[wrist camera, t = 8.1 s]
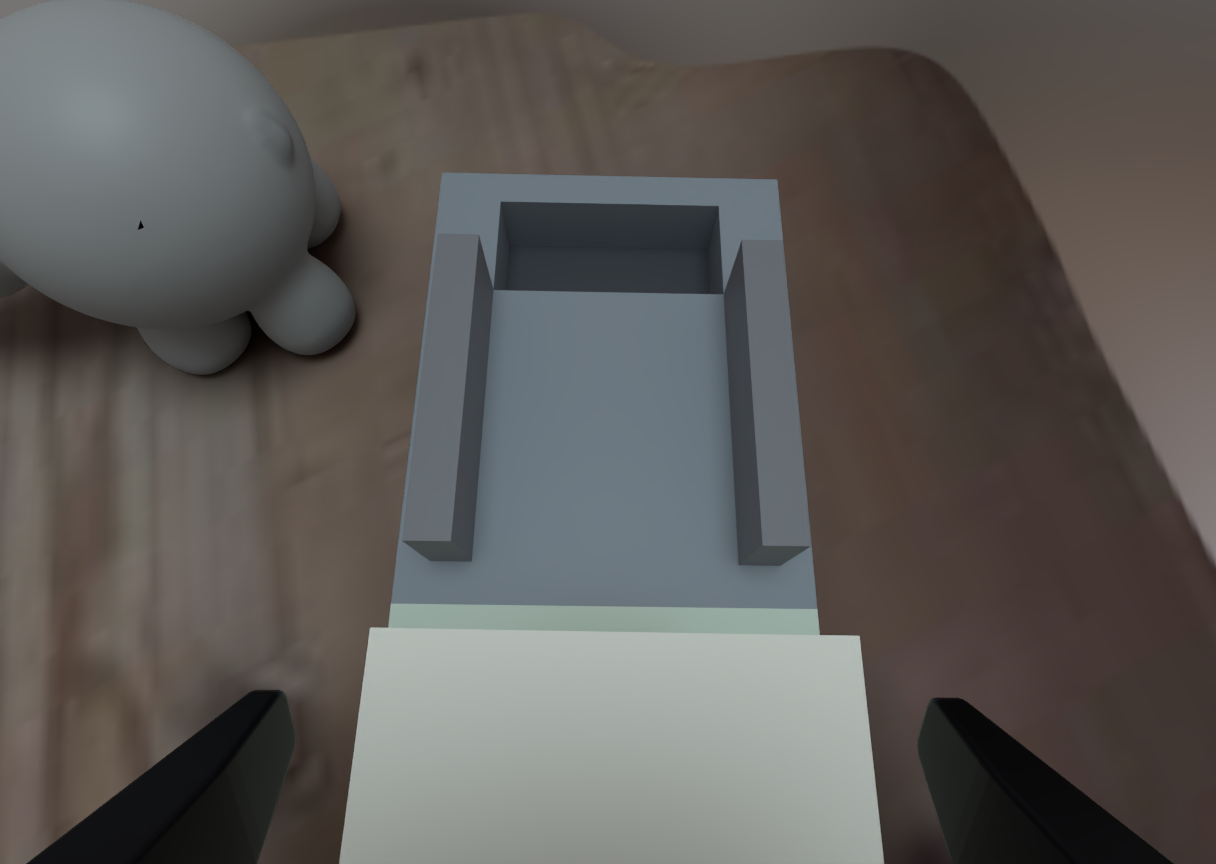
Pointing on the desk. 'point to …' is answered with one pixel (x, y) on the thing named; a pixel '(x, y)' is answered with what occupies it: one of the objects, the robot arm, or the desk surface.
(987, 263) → the desk surface
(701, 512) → the channel
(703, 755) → the block
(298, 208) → the grey rounded figurine
